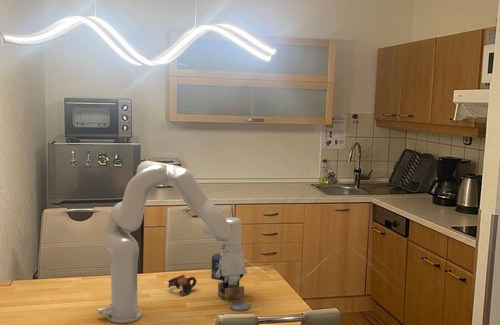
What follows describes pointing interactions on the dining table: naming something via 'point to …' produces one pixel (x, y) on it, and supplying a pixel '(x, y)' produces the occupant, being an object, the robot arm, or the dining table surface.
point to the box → (215, 265)
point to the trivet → (239, 306)
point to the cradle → (230, 292)
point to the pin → (232, 281)
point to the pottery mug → (183, 284)
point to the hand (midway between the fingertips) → (231, 289)
